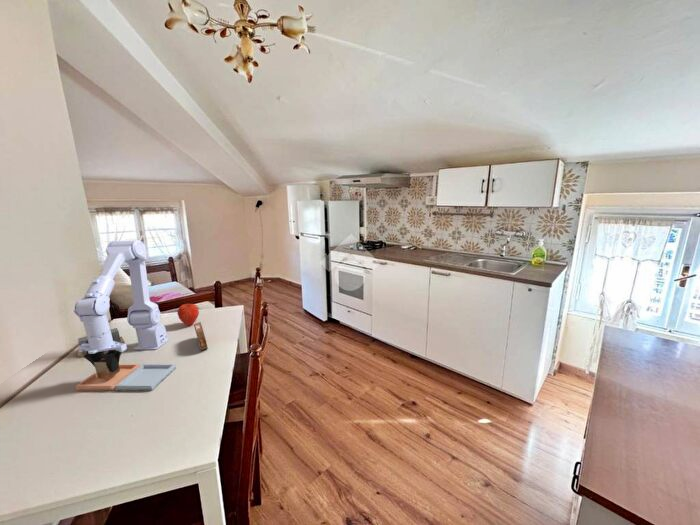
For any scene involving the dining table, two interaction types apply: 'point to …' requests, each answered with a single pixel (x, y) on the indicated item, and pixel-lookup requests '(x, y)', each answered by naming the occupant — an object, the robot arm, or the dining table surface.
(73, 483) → the dining table surface
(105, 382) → the terracotta tray
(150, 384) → the blue-grey tray
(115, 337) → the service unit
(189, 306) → the apple
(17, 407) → the dining table surface
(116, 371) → the wooden block with knob
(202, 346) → the tin
